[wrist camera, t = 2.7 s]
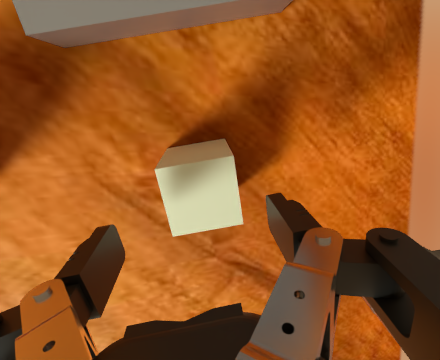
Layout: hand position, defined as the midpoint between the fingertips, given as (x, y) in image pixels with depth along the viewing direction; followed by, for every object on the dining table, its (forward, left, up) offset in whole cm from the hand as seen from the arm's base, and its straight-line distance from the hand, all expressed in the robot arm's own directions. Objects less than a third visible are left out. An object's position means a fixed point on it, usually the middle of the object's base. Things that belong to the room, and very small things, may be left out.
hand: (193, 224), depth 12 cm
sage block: (0, 0, -9) cm, 9 cm away
